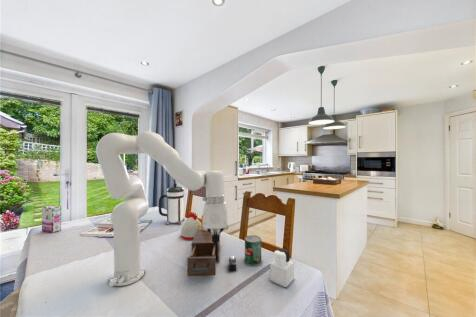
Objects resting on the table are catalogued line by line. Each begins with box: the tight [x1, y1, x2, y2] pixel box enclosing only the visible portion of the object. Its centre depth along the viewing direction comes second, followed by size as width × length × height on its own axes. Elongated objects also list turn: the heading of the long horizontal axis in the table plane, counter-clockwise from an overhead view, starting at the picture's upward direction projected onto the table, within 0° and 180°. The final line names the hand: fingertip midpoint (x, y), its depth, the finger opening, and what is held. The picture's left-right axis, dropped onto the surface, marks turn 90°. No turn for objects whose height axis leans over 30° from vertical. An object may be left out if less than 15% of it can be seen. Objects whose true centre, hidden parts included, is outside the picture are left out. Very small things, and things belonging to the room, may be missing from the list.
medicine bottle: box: [269, 248, 295, 288], centre depth 81 cm, size 7×7×12 cm
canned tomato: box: [244, 234, 262, 267], centre depth 95 cm, size 8×8×11 cm
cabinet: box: [190, 229, 221, 263], centre depth 103 cm, size 18×13×9 cm
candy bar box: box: [41, 205, 62, 234], centre depth 134 cm, size 11×5×16 cm, turn 73°
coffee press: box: [158, 182, 186, 225], centre depth 152 cm, size 17×16×30 cm
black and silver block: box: [228, 255, 237, 272], centre depth 91 cm, size 7×4×4 cm, turn 3°
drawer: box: [186, 245, 217, 277], centre depth 88 cm, size 21×12×7 cm, turn 3°
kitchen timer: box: [180, 211, 202, 241], centre depth 127 cm, size 14×14×15 cm
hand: (215, 243), depth 83 cm, fingers closed
